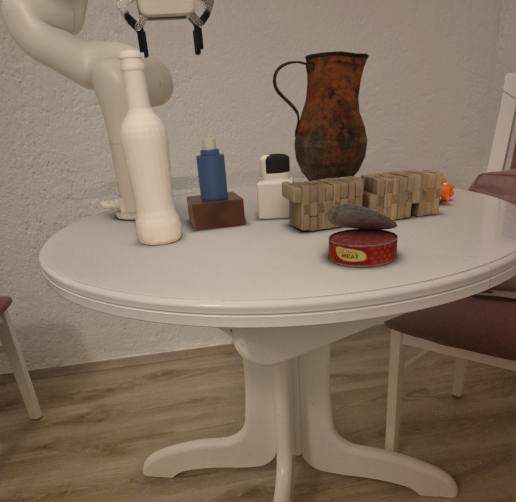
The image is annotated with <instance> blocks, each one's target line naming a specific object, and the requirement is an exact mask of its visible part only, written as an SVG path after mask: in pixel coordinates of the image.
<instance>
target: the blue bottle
mask: <svg viewBox="0 0 516 502" xmlns="http://www.w3.org/2000/svg"><path fill="white" fill-rule="evenodd" d="M201 147H202V149H200V150H199V153H200V154H199V155H195V160H196V168H197V177H198V184H199V192H200V194H199V195H201V199H202V200H219V199H224V198H227V197H228V192H229V191H228V182H227V172H226V171H227V170H226V162H225V161H226V160H225V154H224V153H220V149H219V148H217V142H216V137H204V138H201Z"/></svg>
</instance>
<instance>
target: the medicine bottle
mask: <svg viewBox="0 0 516 502" xmlns="http://www.w3.org/2000/svg"><path fill="white" fill-rule="evenodd" d="M258 161H259V175H260V178H259V180H258V182H257V183H256V196H257V197H256V198H257V212H258V219H259V220H277V219H278V220H279V219H290V209H289V199H287V198H285V197H284V196H282V182H287V181H288V182H290V183H295V181H294V176H290V175H291V165H290V162H291V161H290V156H289V155H288V154H286V153H269V154H264V155H262V156H260V158H259V160H258Z"/></svg>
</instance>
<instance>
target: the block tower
mask: <svg viewBox="0 0 516 502" xmlns="http://www.w3.org/2000/svg"><path fill="white" fill-rule="evenodd" d="M443 178H444V172H442V171H437V170H436V171H434V170H430V169H423V170H420V169H414V168H412V169H404V170H395V171H393V170H392V171H384V172H380V173H379V172H377V173H368V174H361V175H360V177H358V176H356V175H354V176H347V177H340V178H326V179H319V180H318V181H317V180H314V181H309V180H306V181H298V182H294V183H290V182H288V181H287V182H282V196H284V197H285V198H287V199H289V209H290V218H289V225H290V226H292V227H295V228H296V229H298V230H300V231H310V232H313V231H314V232H315V231H317V230H318V231H320V230H327V229H332V228H339V227H341V226H337V225H334V224H332V223H330V221H329V220H328V218H327V216H328V213H329V210H330V209H331V208H332V207H333V206H334V205H335V204H336V205H341V204H343V203H351V204H357V205H361V206H363V207H365V208H368V209H371V210H375V211H377V212H378V213H380V214H382V215H385V216H387V217H389V218H390V219H391V220H393V221H395V220H402V219H404V218H411V215H412V216H415V217H424V216H430V215H438V214H439V208H440V207H439V206H440V201H441V200H440V193H441V186H442V179H443Z"/></svg>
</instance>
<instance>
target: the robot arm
mask: <svg viewBox="0 0 516 502" xmlns="http://www.w3.org/2000/svg"><path fill="white" fill-rule="evenodd" d="M196 1H197V2H199V3H200V4H202V5H203V6H204V9H203V12H202V14H201V15H200V17H199V16H198V14H197V13H196V12H195V11H196ZM135 2H136V8H137V13H138V18H137V19H135V17H133V16H132V15H131V13H130V12H129V10H128V7H129V6H131V5H132V4H133V3H135ZM0 3H1V4H0V12H1V16H2V21H3V23H4V25H5V27H6V29H7V32H8V34H9V35H10V37H11V39H12V40H13V41H14V42H15V45H16V46H18V48H19V49H21V51H23V53H25V54H26V55H27V56H28V57H30V58H31V59H33V60H34V61H36V62H37V63H39V64H41V65H43V66H45V67H47V68H49V69H51V70H53V71H55V72H56V73H58V74H60V75H61V76H63V77H65V78H66V79H68V80H70V81H72V82H73V83H75V84H77V85H79V86H81V87H83V88H85V89H87V90H92V91H94V93H95V97H96V99H97V102H98V104H99V107H100V110H101V113H102V116H103V120H104V125H105V129H106V132H107V139H108V143H109V148H110V153H111V158H112V164H113V168H114V173H115V179H116V184H117V189H118V195H117V197H115V198H113V199H110V200H107V199H106V200H100V207H101V211H103V210H107V211H108V210H109V211H110V210H117V211H116V212H115V216H116V218H117V219H120V220H127V221H128V220H129V221H135V220H136V206H135V201H134V197H133V193H132V188H131V184H130V180H129V176H128V172H127V167H126V163H125V159H124V155H123V151H122V147H121V142H120V128H121V125H122V122H123V120H124V118H125V116H126V114H127V111H128V107H127V100H126V94H125V87H124V80H123V73H122V71H121V68H120V67H121V62H120V59H119V53H120V52H121V51H126V50H137V51H139V52H140V53H141V56H142V58H141V60H142V62H143V64H144V66H145V70H144V71H145V77H146V83H147V89H148V95H149V100H150V106H151V108H157V107H161V106H163V105H165V104H167V102H168V101H169V100H170V99H171V97H172V95H173V94H174V93H173V92H174V80H173V76H172V74H171V71H170V70H169V68H168V67H167V66H166V64H165V63H164V62H163V61H161V59H159V58H157V57H155V56H154V55H151V54H149V47H148V40H147V33H146V31H145V28H144V27H145V25H146V23H147V21H148V22H158V21H159V22H160V21H179V20H180V21H181V20H182V21H183V20H187V21H189V23H190V24H191V25H192V26H193V30H192V38H193V46H194V54H195V55H196V56H200V55H201V54H202V50H204V37H203V27H204V26H205V24H206V23H207V22H208V20H209V19H210V17H211V13H212V11H213V7H214V4H215V0H118V1H117V2H116V8H117V10H118V11H119V14H120V15H121V16H122V18H123V19H124V21H125V22H126V24H127V25H128V26H130V27H131V28H132V29H133V30H134V31H135V33H136V36H137V43H138V48H137V47H134V46H133V45H130V44H128V43H125V42H121V41H114V40H113V41H112V40H98V39H96V40H95V39H86V38H85V39H84V38H81V37H79V36H77V35H79V34H80V33H81V31H82V30H83V28H84V26H85V22H86V21H85V20H86V15H87V10H88V4H89V0H1V2H0Z"/></svg>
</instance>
